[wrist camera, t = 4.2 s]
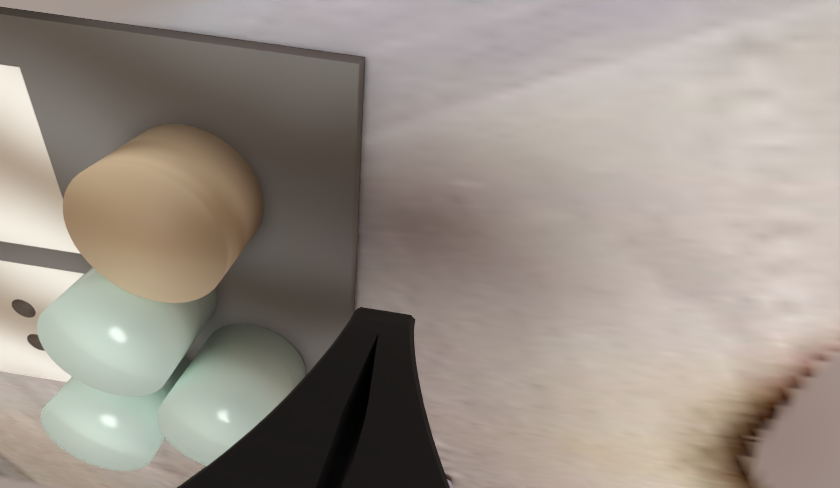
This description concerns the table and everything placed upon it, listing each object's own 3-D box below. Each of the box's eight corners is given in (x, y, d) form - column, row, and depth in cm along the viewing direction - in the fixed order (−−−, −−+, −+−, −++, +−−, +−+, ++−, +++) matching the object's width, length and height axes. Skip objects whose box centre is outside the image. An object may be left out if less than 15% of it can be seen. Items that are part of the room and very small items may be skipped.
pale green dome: (312, 403, 22) (283, 477, 19) (218, 395, 23) (176, 465, 20) (296, 327, 20) (261, 396, 17) (193, 320, 21) (141, 386, 18)
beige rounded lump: (268, 259, 18) (234, 313, 16) (141, 239, 19) (87, 290, 16) (258, 135, 16) (215, 177, 13) (110, 114, 16) (40, 151, 13)
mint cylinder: (223, 335, 21) (178, 405, 18) (120, 318, 21) (59, 385, 18) (209, 248, 18) (155, 313, 16) (93, 230, 19) (18, 290, 16)
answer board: (349, 414, 24) (345, 428, 23) (-31, 351, 25) (-46, 363, 24) (364, 57, 15) (359, 64, 14) (-241, -27, 16) (-274, -24, 15)
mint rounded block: (203, 407, 24) (162, 478, 21) (113, 392, 24) (59, 461, 21) (189, 340, 21) (141, 409, 18) (89, 324, 21) (24, 390, 18)
